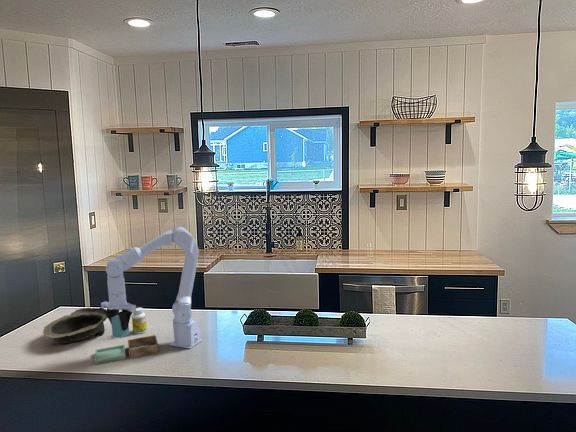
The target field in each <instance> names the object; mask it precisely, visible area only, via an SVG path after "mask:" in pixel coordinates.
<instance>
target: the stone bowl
mask: <svg viewBox="0 0 576 432" xmlns="http://www.w3.org/2000/svg"><path fill="white" fill-rule="evenodd" d="M106 310H107V308H101V306H100V307H96V308H95V307H84V308H80V309H79V308H78V309H76V310H75V311H73V312H71V313H70V314H68V315H64V316H62V317H60V318H57V319H54V320H53V321H51V322H50V323H49V324H47V325H45V326H44V327H43V329H42V334H43V336H44V337H47V338H51V339H52V338H53V339H55V340H56V341H57V343H59V344H61V345H65V344H69V343H70V344H71V343H74V342H77V341H82V340H84V339H87V338H88V337H91V336H94V335H95V336H97V337H101V336H103V335H104V334H105V330H106V329H105V324H104V322H105V321H106V320H107V319H108V317H107V316H106V314H105V313H104V311H106Z"/></svg>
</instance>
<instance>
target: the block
mask: <svg viewBox="0 0 576 432" xmlns="http://www.w3.org/2000/svg"><path fill="white" fill-rule="evenodd" d="M111 324H112V325H111ZM110 325H111V333H112V337H114V338H119V339H122V338H124V337H126V336H128V335H130V328H129V325H130V324H129V325H128V329H126V330H124V331H123V330H122V326H121V321H120V318H119V316H118V315H116V316H114V317H112V318H111V323H110Z"/></svg>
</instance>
